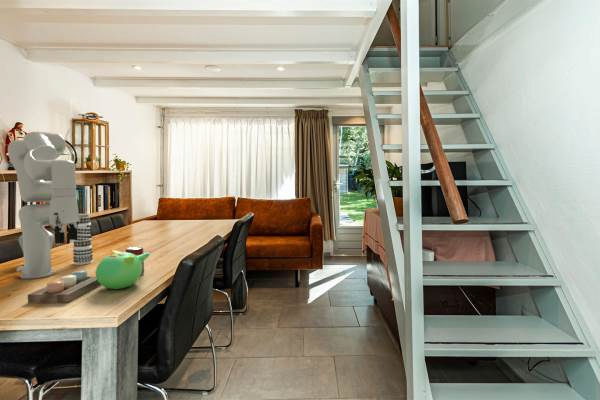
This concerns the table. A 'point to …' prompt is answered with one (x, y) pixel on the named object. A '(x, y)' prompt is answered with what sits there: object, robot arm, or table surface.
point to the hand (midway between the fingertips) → (66, 240)
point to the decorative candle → (83, 241)
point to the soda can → (136, 252)
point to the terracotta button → (55, 287)
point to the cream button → (69, 280)
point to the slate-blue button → (80, 275)
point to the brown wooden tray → (64, 292)
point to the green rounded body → (120, 269)
